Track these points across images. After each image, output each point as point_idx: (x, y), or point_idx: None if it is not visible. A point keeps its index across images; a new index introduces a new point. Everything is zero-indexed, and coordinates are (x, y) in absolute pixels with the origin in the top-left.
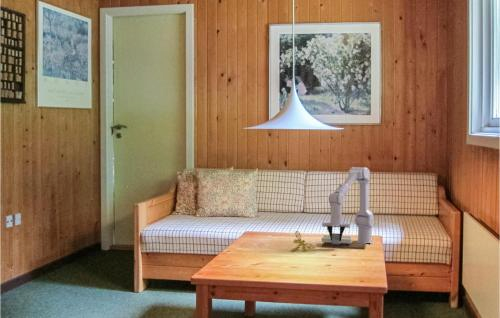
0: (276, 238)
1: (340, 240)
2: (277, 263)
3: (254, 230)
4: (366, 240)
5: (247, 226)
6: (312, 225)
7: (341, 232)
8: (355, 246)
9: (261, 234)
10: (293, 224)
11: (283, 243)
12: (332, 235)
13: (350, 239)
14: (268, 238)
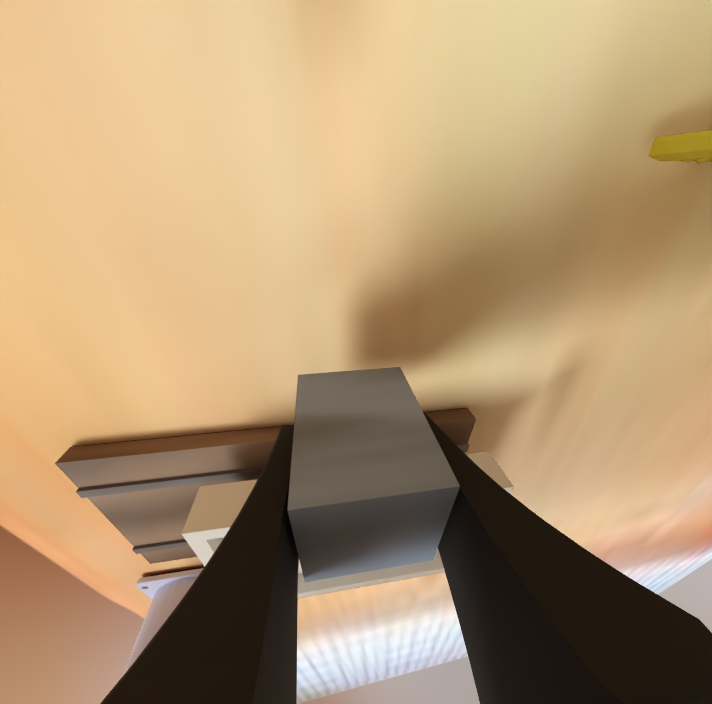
0: (664, 504)
1: (284, 431)
2: None
3: (671, 565)
4: (164, 601)
5: (660, 588)
6: (455, 649)
7: (218, 598)
8: (169, 469)
9: (685, 534)
10: None
11: (700, 422)
12: (438, 468)
13: (191, 531)
14: (704, 492)
